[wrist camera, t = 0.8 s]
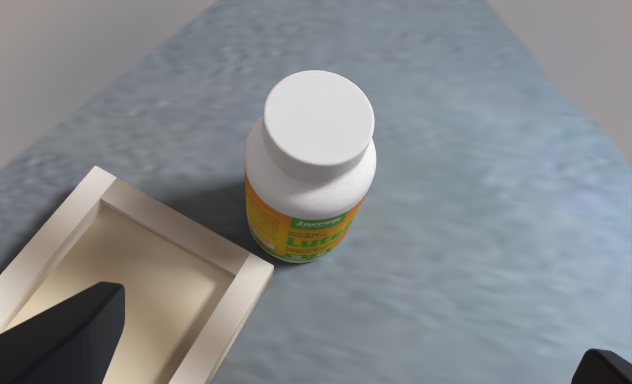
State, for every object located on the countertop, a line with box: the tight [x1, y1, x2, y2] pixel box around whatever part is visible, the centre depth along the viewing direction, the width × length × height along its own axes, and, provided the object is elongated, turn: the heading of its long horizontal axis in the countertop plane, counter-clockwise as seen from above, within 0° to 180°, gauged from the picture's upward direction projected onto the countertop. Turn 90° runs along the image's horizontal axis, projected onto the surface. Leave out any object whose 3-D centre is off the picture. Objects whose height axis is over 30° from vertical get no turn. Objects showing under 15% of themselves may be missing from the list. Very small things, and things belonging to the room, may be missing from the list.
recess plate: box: [0, 166, 274, 384], centre depth 22 cm, size 10×10×2 cm
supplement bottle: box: [244, 70, 376, 263], centre depth 21 cm, size 5×5×10 cm
